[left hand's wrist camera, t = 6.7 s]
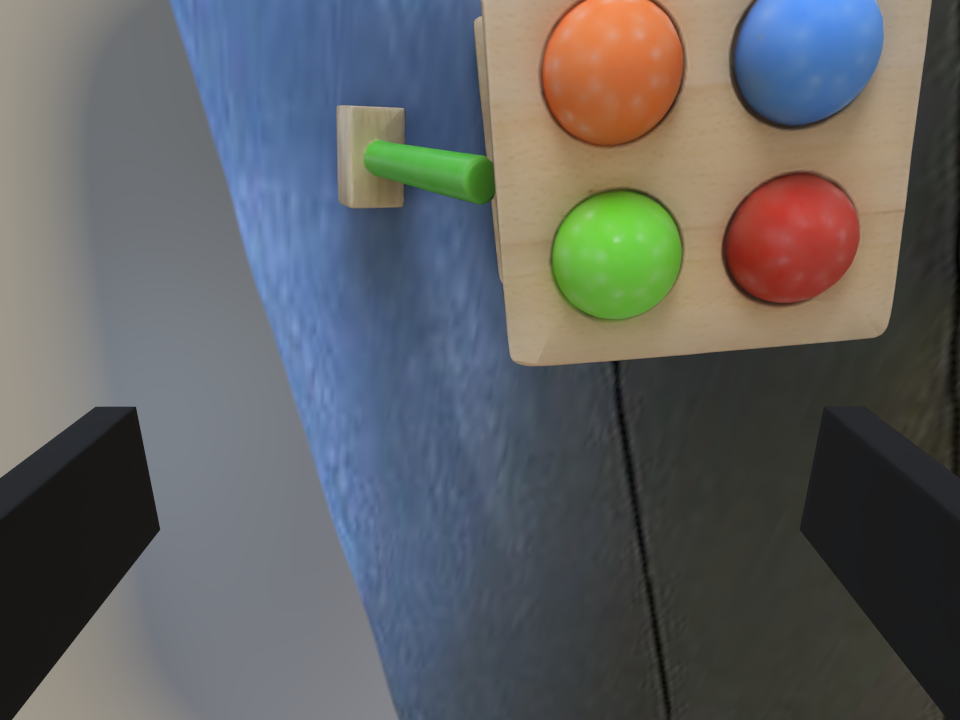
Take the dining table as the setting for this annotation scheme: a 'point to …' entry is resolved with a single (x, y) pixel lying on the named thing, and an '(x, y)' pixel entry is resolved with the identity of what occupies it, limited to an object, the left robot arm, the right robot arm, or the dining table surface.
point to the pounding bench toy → (676, 170)
